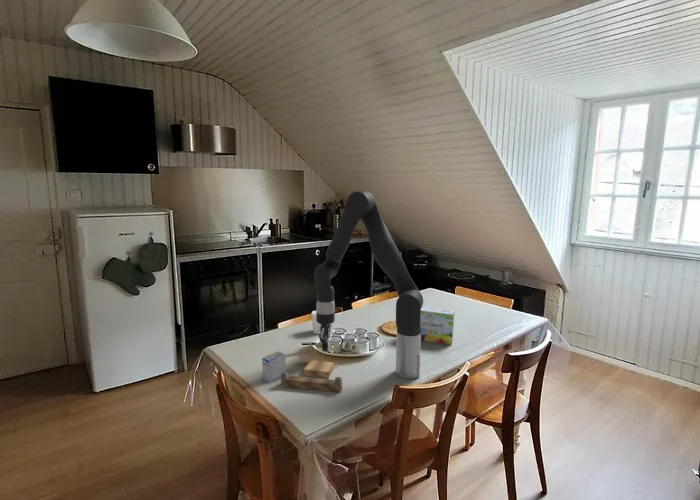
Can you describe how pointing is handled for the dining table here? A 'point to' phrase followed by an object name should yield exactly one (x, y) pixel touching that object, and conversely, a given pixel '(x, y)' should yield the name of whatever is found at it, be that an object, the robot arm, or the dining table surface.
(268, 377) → the medicine box
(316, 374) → the light wooden block
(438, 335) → the snack box
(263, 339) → the dining table surface
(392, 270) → the robot arm
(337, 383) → the bar
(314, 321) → the white cup
